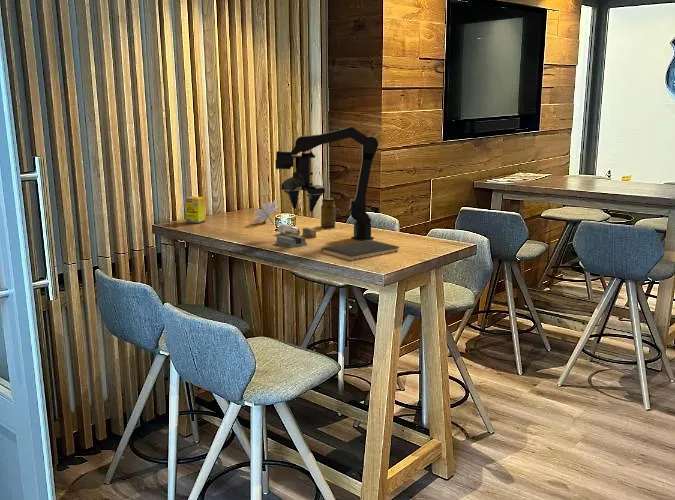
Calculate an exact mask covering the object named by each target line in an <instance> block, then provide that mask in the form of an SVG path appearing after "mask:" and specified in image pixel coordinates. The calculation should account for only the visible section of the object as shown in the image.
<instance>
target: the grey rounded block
mask: <svg viewBox="0 0 675 500" xmlns="http://www.w3.org/2000/svg"><path fill="white" fill-rule="evenodd" d="M287 234H293V235H297V236H300V234H299V232H295V231H291V230H286V231H285V235H284V236H285V237H287ZM302 237H305V238H306V237H307V238H311V239H314V238H317V229H314V228H310V227H308V226H307V227H302Z"/></svg>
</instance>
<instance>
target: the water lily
mask: <svg viewBox="0 0 675 500" xmlns="http://www.w3.org/2000/svg"><path fill="white" fill-rule="evenodd" d="M276 201H277V198H274V200H273V201H272V202H270V201H267V202H266V203H265V202H262V209H255V211H254V212H253V213H254V215H255V216H257V217H256V218H254V219H253V222H252V224H253V225H255V224H258V223H260V222H262V221H264V222H266V221H268V220H269V221H270V222H271V224H272V225H275V223H274V221H273V220H272V218H271V217H270V216H271V215H272V214H273V213H274V212H276V211H277V209H278V207H279V205H276ZM275 205H276V206H275Z"/></svg>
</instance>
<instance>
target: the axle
mask: <svg viewBox="0 0 675 500" xmlns="http://www.w3.org/2000/svg"><path fill="white" fill-rule="evenodd" d="M286 230H291V231H295V232H299V235H300V234H301V230H300V228H299V227H295V226H292V225H287V224H280V225H279V226H278V227H277V232H278V233H279V234H280V235H282V236H285V231H286Z"/></svg>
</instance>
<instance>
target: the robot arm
mask: <svg viewBox="0 0 675 500" xmlns="http://www.w3.org/2000/svg"><path fill="white" fill-rule="evenodd" d="M349 138H351V139H352V140H354V141H356V142H357V143H359V144H360V145H361V162H360V163H361V164H360V167H359V169H360V171H359V175H358V180H357V188H356V192H355V196H354V198H350V201H349V202H350V204H349V206H348V211H349V212H350V213H349V214H350V216H351V218H352V219H353V220H354V221H353V222H354V224H353V236H351V239H354V240H358V241H366V240H373V239H375V236H372V223H371V222H372V219H371V217H370V215H369V213H367V202H366V201H367V200H366V199H367V198H366V197H367V191H368V187H369V179H370V174H371V169H372V164H373V163H372V162H373V160H374V157H375V156H376V152H377V150H378V147H379V141H378V139H377V138H376V137H374V136H373V135H366V134H365V133H363V132H360V131H359V130H357V129H356V128H355V127H354V126H352V125H351V126H348V127H344V128H340V129H336V130H332V131H329V132H325V133H320V134H312V135H311V134H308V135H300V136H298V137H297V138H296V140H295V144H294V147H293V148H291V151H282V150H277V151H276V152H275V154H276V156H275V170H291V168H294V166H295V169H294V170H295V171H293V172H292V177H289V178H287V179H285V180H284V181H283V182H282V183H281V190H282V191H283V193H286V194H287V195H288V198H289V200H290V203H291V206H292V209H294V210H296V209H297V205H298V199H299V195H300V194H299V193H300V191H306V192H307V194H306V196H307V197H308V203H309V204H308V205H309V212H311V213H312V212H313V211H314V209H315V207H316V205H317V203H318V201H319V199H320V197H322V196H323V194H326V188H325V186H324V185H319V184H316V185H315V184H314V183H313V182H311V176H313V172H312V171H311V159H315V158H316V155H315V154H314V153H313V152H312V151H311V150H312V149H315V148H316V147H318V146H321V145H325V144H328V143H332V142H333V143H334V142H336V141H337V142H338V141H340V140H345V139H349ZM308 151H309V153H306V152H308ZM299 153H301V155H299ZM294 160H295V161H294Z"/></svg>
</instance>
